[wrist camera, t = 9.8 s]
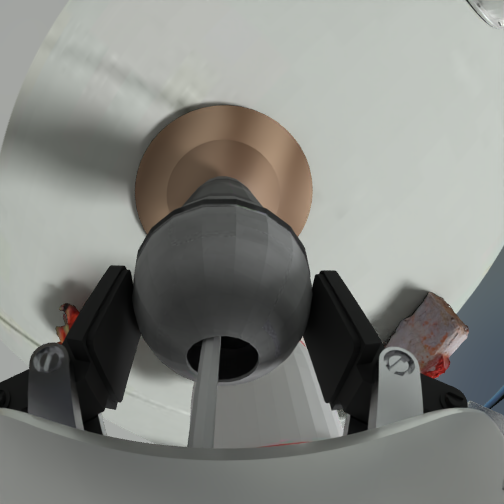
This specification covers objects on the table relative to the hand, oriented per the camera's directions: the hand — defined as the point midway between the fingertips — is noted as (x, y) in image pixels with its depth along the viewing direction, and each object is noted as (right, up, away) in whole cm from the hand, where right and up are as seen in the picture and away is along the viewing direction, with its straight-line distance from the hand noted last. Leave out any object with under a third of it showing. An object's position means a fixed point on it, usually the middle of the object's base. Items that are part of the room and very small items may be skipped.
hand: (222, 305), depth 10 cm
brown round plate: (-1, +7, +14) cm, 16 cm away
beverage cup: (-1, +6, +12) cm, 13 cm away
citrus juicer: (+1, -12, +24) cm, 27 cm away
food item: (+25, -10, +26) cm, 38 cm away
